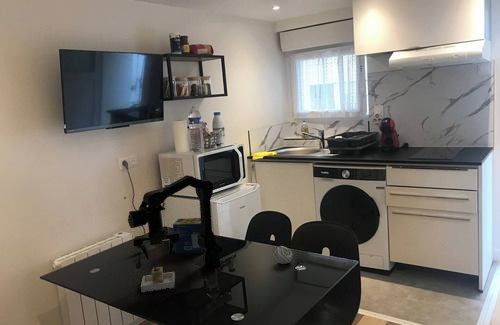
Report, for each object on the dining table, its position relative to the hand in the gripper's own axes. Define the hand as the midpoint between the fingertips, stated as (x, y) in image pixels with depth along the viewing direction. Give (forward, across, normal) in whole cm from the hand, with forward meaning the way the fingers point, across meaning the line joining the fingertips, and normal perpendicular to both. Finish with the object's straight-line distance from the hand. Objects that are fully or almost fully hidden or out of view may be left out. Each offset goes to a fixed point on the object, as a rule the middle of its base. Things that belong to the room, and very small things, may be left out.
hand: (159, 258), depth 179 cm
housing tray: (+11, -2, -2) cm, 11 cm away
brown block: (+10, -2, -2) cm, 11 cm away
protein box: (+11, +14, +37) cm, 41 cm away
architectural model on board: (+12, -10, +47) cm, 50 cm away
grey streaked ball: (+12, +53, +2) cm, 55 cm away
